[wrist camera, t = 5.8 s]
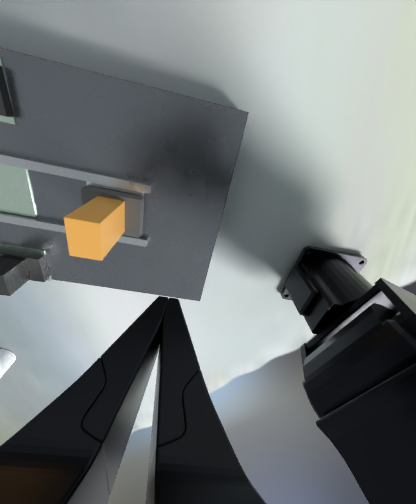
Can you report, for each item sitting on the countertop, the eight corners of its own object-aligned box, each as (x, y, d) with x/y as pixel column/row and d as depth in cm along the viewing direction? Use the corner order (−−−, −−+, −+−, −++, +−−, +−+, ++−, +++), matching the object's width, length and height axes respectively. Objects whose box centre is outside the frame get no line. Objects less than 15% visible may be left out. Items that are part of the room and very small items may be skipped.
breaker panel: (243, 114, 14) (259, 108, 10) (200, 288, 22) (198, 326, 18) (-84, 29, 12) (-242, -25, 8) (-2, 257, 20) (-58, 292, 16)
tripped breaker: (143, 196, 15) (120, 222, 11) (142, 233, 17) (120, 267, 12) (86, 185, 15) (39, 207, 10) (89, 224, 16) (50, 256, 12)
